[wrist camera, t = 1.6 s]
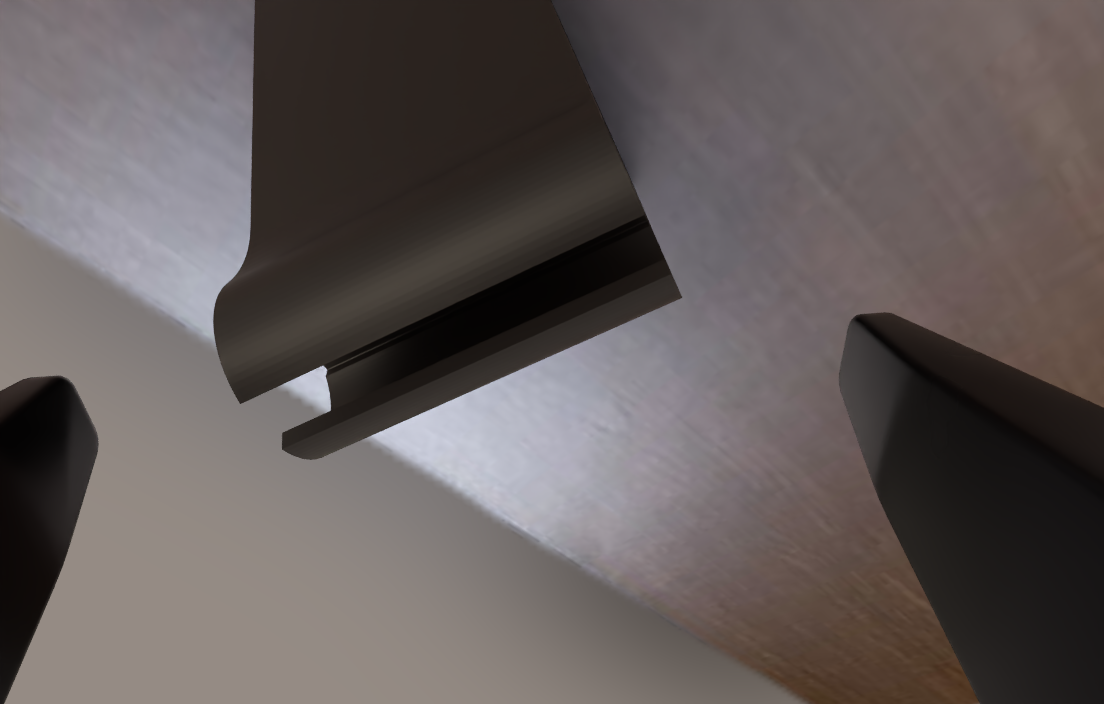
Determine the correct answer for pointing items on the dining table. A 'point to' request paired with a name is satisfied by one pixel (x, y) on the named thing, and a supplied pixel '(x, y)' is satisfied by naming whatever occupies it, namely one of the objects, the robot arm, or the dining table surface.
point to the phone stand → (425, 209)
